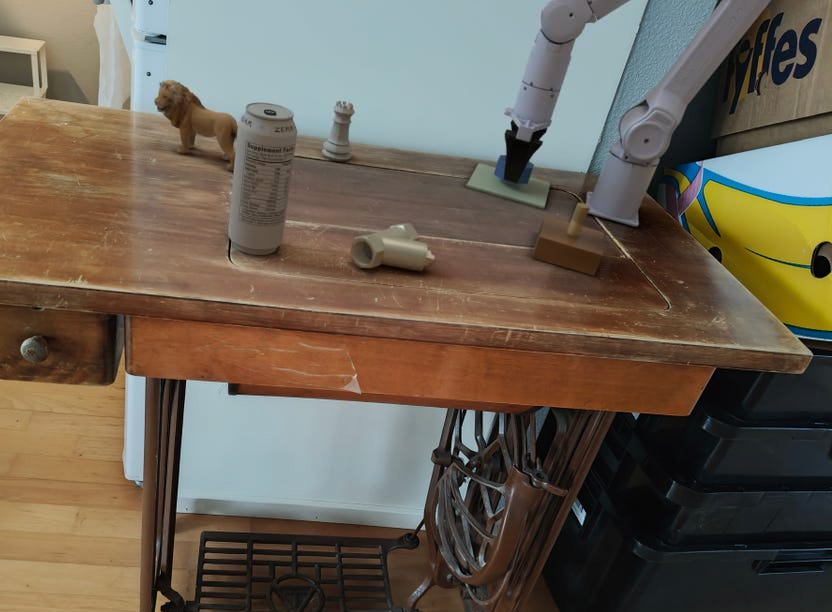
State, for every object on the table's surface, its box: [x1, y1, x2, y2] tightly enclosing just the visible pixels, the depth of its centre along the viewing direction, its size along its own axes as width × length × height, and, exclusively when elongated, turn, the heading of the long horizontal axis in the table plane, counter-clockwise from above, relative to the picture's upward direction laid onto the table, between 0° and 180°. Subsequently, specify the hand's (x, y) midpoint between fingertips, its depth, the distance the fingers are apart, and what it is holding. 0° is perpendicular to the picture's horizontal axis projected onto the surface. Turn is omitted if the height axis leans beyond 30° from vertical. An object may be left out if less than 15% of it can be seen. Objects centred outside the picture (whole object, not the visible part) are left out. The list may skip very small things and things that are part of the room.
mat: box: [465, 162, 551, 210], centre depth 114 cm, size 12×12×1 cm
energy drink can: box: [227, 102, 298, 256], centre depth 77 cm, size 6×6×15 cm
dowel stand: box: [531, 202, 604, 277], centre depth 93 cm, size 8×8×7 cm
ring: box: [494, 154, 535, 184], centre depth 112 cm, size 5×5×2 cm
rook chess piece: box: [321, 100, 355, 162], centre depth 108 cm, size 4×4×8 cm
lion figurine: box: [153, 79, 238, 172], centre depth 98 cm, size 15×5×9 cm, turn 73°
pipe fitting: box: [350, 222, 435, 272], centre depth 82 cm, size 8×4×7 cm
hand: (512, 174), depth 113 cm, fingers closed on ring, 5 cm apart
